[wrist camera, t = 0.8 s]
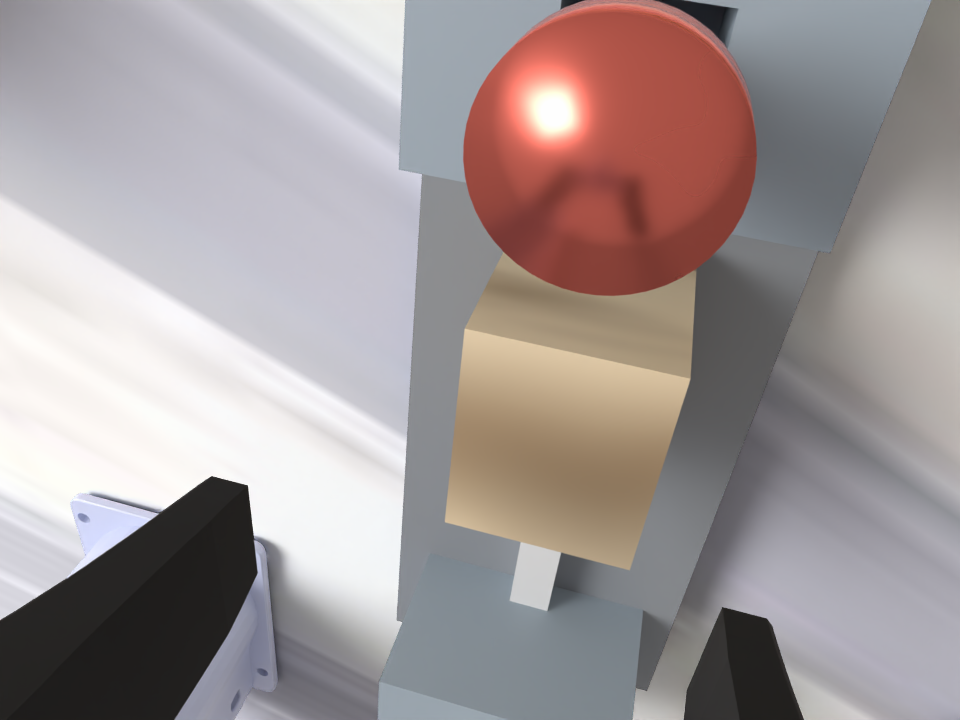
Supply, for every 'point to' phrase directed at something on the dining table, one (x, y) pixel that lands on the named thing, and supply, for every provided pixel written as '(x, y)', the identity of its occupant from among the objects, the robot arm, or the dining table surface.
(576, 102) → the gauge plunger
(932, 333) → the dining table surface
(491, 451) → the carriage
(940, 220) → the dining table surface
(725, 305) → the rail bench
